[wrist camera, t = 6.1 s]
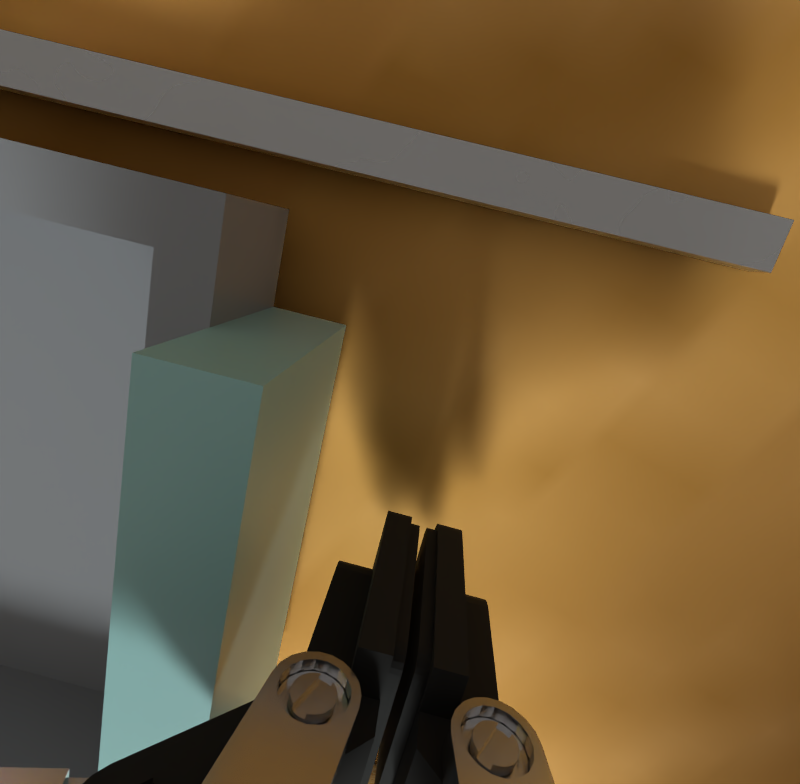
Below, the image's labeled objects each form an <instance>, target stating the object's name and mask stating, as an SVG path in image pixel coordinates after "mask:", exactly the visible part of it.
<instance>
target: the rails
mask: <svg viewBox="0 0 800 784" xmlns="http://www.w3.org/2000/svg"><path fill="white" fill-rule="evenodd" d="M0 89H1V90H5V91H9V92H14V93H18V94H22V95H26V96H30V97H34V98H38V99H42V100H46V101H51V102H55V103H59V104H63V105H67V106H71V107H75V108H79V109H83V110H88V111H92V112H96V113H100V114H104V115H108V116H112V117H116V118H120V119H125V120H129V121H133V122H137V123H141V124H145V125H149V126H153V127H157V128H162V129H166V130H170V131H174V132H178V133H182V134H186V135H190V136H194V137H199V138H203V139H207V140H211V141H215V142H219V143H223V144H227V145H231V146H235V147H240V148H244V149H248V150H252V151H256V152H260V153H264V154H268V155H272V156H277V157H281V158H285V159H289V160H293V161H297V162H301V163H305V164H309V165H314V166H318V167H322V168H326V169H330V170H334V171H338V172H342V173H346V174H351V175H355V176H359V177H363V178H367V179H371V180H375V181H379V182H383V183H388V184H392V185H396V186H400V187H404V188H408V189H412V190H416V191H420V192H424V193H429V194H433V195H437V196H441V197H445V198H449V199H453V200H457V201H461V202H466V203H470V204H474V205H478V206H482V207H486V208H490V209H494V210H498V211H503V212H507V213H511V214H515V215H519V216H523V217H527V218H531V219H535V220H540V221H544V222H548V223H552V224H556V225H560V226H564V227H568V228H572V229H577V230H581V231H585V232H589V233H593V234H597V235H601V236H605V237H609V238H613V239H618V240H622V241H626V242H630V243H634V244H638V245H642V246H646V247H650V248H655V249H659V250H663V251H667V252H671V253H675V254H679V255H683V256H687V257H692V258H696V259H700V260H704V261H708V262H712V263H716V264H720V265H724V266H729V267H733V268H737V269H741V270H745V271H753V272H767V273H771V272H772V269H773V267H774V265H775V263H776V260H777V258H778V256H779V253H780V251H781V249H782V247H783V244H784V242H785V240H786V237H787V235H788V233H789V231H790V228H791V226H792V224H793V222H794V220H792V219H788V218H783V217H779V216H775V215H771V214H767V213H763V212H758V211H754V210H750V209H746V208H742V207H738V206H733V205H729V204H725V203H721V202H717V201H713V200H709V199H704V198H700V197H696V196H692V195H688V194H684V193H679V192H675V191H671V190H667V189H663V188H659V187H654V186H650V185H646V184H642V183H638V182H634V181H630V180H625V179H621V178H617V177H613V176H609V175H605V174H600V173H596V172H592V171H588V170H584V169H580V168H575V167H571V166H567V165H563V164H559V163H555V162H550V161H546V160H542V159H538V158H534V157H530V156H526V155H521V154H517V153H513V152H509V151H505V150H501V149H496V148H492V147H488V146H484V145H480V144H476V143H471V142H467V141H463V140H459V139H455V138H451V137H447V136H442V135H438V134H434V133H430V132H426V131H422V130H417V129H413V128H409V127H405V126H401V125H397V124H392V123H388V122H384V121H380V120H376V119H372V118H368V117H363V116H359V115H355V114H351V113H347V112H343V111H338V110H334V109H330V108H326V107H322V106H318V105H313V104H309V103H305V102H301V101H297V100H293V99H289V98H284V97H280V96H276V95H272V94H268V93H264V92H259V91H255V90H251V89H247V88H243V87H239V86H234V85H230V84H226V83H222V82H218V81H214V80H210V79H205V78H201V77H197V76H193V75H189V74H185V73H180V72H176V71H172V70H168V69H164V68H160V67H155V66H151V65H147V64H143V63H139V62H135V61H130V60H126V59H122V58H118V57H114V56H110V55H106V54H101V53H97V52H93V51H89V50H85V49H81V48H76V47H72V46H68V45H64V44H60V43H56V42H51V41H47V40H43V39H39V38H35V37H31V36H27V35H22V34H18V33H14V32H10V31H6V30H2V29H0ZM376 768H377V764H374V766H373V769H372V772H371V775H370V779H369V782H368V784H374V783H375V775H376Z"/></svg>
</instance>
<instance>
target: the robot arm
mask: <svg viewBox="0 0 800 784" xmlns="http://www.w3.org/2000/svg"><path fill="white" fill-rule="evenodd" d="M411 521H412V517H410V516H406V515H402V514H399V513H395V512H391V511H388V514H387V517H386V521H385V525H384V528H383V532H382V536H381V540H380V543H379V547H378V551H377V555H376V558H375V562H374V566H373V569H369V568H365V567H362V566H358V565H354V564H351V563H347V562H343V561H339V562H338V564H337V567H336V570H335V573H334V576H333V578H332V581H331V584H330V587H329V590H328V593H327V596H326V598H325V601H324V604H323V607H322V610H321V613H320V616H319V618H318V621H317V624H316V627H315V630H314V633H313V636H312V639H311V641H310V644H309V647H308V650H307V652H301V653H298V654H294V655H291V656H289V657H288V658H286V659H284V660H283V661H281V662H280V663H279V664H278V665H277V666H276V667H275V669H274V670H273V671H272V672H271V674H270V675H269V677H268V679H267V680H266V682H265V683H264V685H263V687H262V688H261V690H260V691H259V693H258V695H257V696H256V698H255V699H254V700H253V701H251V702H248V703H246V704H244V705H242V706H239V707H237V708H235V709H233V710H230V711H228V712H226V713H224V714H221V715H219V716H217V717H215V718H212V719H210V720H208V721H206V722H203V723H201V724H199V725H197V726H194V727H192V728H190V729H188V730H185V731H183V732H181V733H179V734H177V735H174V736H172V737H170V738H168V739H165V740H163V741H161V742H159V743H156V744H154V745H152V746H150V747H147V748H145V749H143V750H141V751H138V752H136V753H134V754H132V755H129V756H127V757H125V758H123V759H120V760H118V761H116V762H114V763H111V764H110V765H108V766H106V767H104V768H103V769H101V770H99V771H98V772H96V773H94V774H93V775H91V776H90V777H89V778H69V768H19V767H0V784H368V782H369V779H370V775H371V772H372V769H373V766H374V763H375V759H376V756H377V753H378V750H379V753H378V761H377V768H376V775H375V783H374V784H555V783H554V780H553V777H552V774H551V771H550V768H549V765H548V762H547V759H546V756H545V753H544V750H543V747H542V745H541V743H540V740H539V738H538V736H537V734H536V732H535V730H534V729H533V728H532V727H531V725H530V724H529V723H528V721H527V720H526V719H525V718H524V717H523V716H522V715H520V714H519V713H518V712H517V711H516V710H515V709H513V708H512V707H510V706H508V705H506V704H504V703H503V702H501V701H499V700H498V691H497V682H496V673H495V664H494V656H493V647H492V638H491V629H490V620H489V611H488V605H487V601H486V600H484V599H481V598H477V597H473V596H469V595H466V594H465V579H464V559H463V540H462V531H461V530H459V529H455V528H451V527H447V526H444V525H440V524H437V526H436V528H435V530H433V529H429V528H427V529H426V531H425V534H424V537H423V540H422V544H421V547H420V551H419V554H418V557H417V548H418V538H419V528H420V526H418V525H414V524H411ZM416 558H417V561H416Z"/></svg>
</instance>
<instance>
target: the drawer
mask: <svg viewBox="0 0 800 784" xmlns="http://www.w3.org/2000/svg"><path fill="white" fill-rule="evenodd" d="M288 213H289V209H285V208H281V207H278V206H274V205H270V204H266V203H262V202H258V201H254V200H250V199H246V198H242V197H238V196H234V195H231V194H227V193H223V192H219V191H214V190H210V189H206V188H202V187H198V186H194V185H190V184H186V183H182V182H178V181H174V180H170V179H166V178H162V177H157V176H153V175H149V174H145V173H141V172H137V171H133V170H129V169H125V168H121V167H117V166H113V165H109V164H105V163H101V162H96V161H92V160H88V159H84V158H80V157H76V156H72V155H68V154H64V153H60V152H56V151H52V150H48V149H44V148H39V147H35V146H31V145H27V144H23V143H19V142H15V141H11V140H7V139H3V138H0V767H19V768H69V778H89V777H90V776H91V775H93V774H94V773H96V772H98V771H99V770H101V769H103V768H104V767H106V766H108V765H110V764H111V763H114V762H116V761H118V760H120V759H123V758H125V757H127V756H129V755H132V754H134V753H136V752H138V751H141V750H143V749H145V748H147V747H150V746H152V745H154V744H156V743H159V742H161V741H163V740H165V739H168V738H170V737H172V736H174V735H177V734H179V733H181V732H183V731H185V730H188V729H190V728H192V727H194V726H197V725H199V724H201V723H203V722H206V721H208V720H210V719H212V718H215V717H217V716H219V715H221V714H224V713H226V712H228V711H230V710H233V709H235V708H237V707H239V706H242V705H244V704H246V703H248V702H251V701H253V700H254V699H255V698H256V696H257V695H258V693H259V691H260V690H261V688H262V687H263V685H264V683H265V682H266V680H267V679H268V677H269V675H270V674H271V672H272V671H273V670H274V669H275V667H276V665H277V660H278V656H279V651H280V646H281V641H282V636H283V631H284V626H285V621H286V617H287V612H288V607H289V602H290V597H291V592H292V587H293V582H294V578H295V573H296V568H297V563H298V558H299V553H300V548H301V543H302V538H303V534H304V529H305V524H306V519H307V514H308V509H309V504H310V499H311V495H312V490H313V485H314V480H315V475H316V470H317V465H318V460H319V456H320V451H321V446H322V441H323V436H324V431H325V426H326V421H327V417H328V412H329V407H330V402H331V397H332V392H333V387H334V382H335V378H336V373H337V368H338V363H339V358H340V353H341V348H342V343H343V339H344V334H345V329H346V325H344V324H340V323H336V322H332V321H328V320H324V319H320V318H316V317H312V316H308V315H304V314H300V313H296V312H292V311H288V310H284V309H280V308H276V307H274V300H275V294H276V288H277V282H278V276H279V269H280V263H281V257H282V251H283V245H284V238H285V232H286V226H287V220H288Z"/></svg>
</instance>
